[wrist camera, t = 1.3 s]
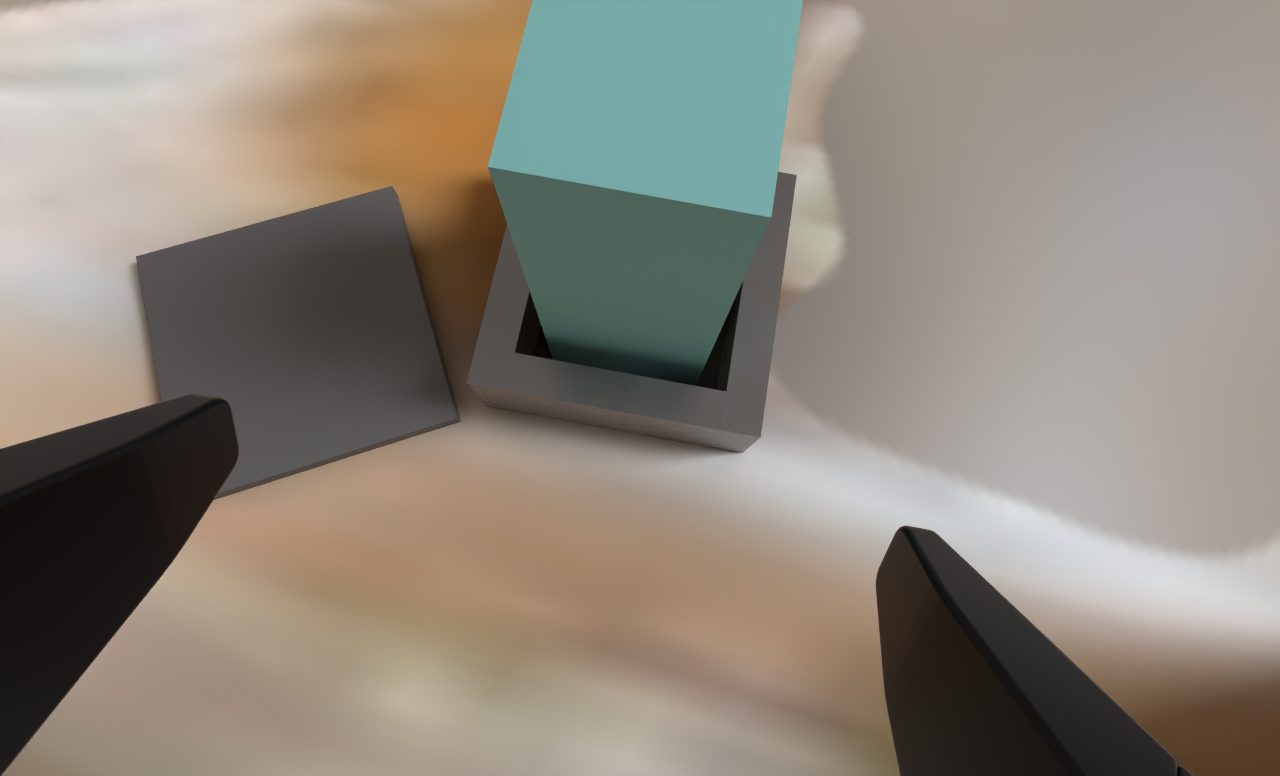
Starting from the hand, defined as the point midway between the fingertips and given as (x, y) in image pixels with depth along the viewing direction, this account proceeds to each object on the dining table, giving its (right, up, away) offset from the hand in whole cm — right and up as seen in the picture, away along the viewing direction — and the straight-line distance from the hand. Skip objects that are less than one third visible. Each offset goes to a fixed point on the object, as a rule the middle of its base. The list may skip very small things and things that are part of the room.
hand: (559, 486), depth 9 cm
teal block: (+1, +4, +15) cm, 15 cm away
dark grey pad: (-11, +3, +14) cm, 18 cm away
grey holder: (+1, +4, +15) cm, 15 cm away
